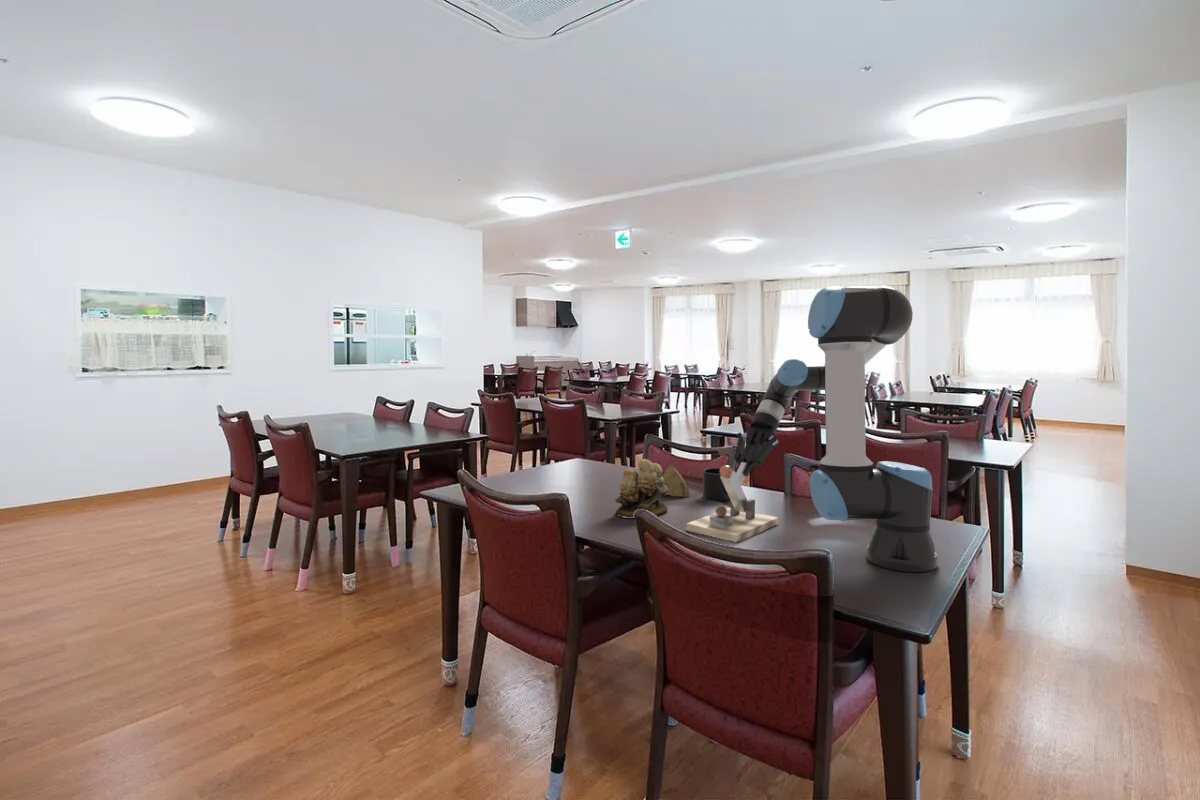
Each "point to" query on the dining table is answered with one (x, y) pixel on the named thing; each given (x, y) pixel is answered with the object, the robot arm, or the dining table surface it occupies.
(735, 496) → the lever
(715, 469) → the mug
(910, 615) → the dining table surface
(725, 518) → the tan bracket base plate
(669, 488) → the rock
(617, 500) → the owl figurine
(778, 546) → the dining table surface
